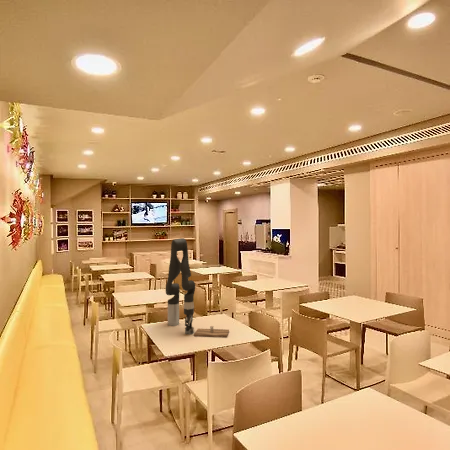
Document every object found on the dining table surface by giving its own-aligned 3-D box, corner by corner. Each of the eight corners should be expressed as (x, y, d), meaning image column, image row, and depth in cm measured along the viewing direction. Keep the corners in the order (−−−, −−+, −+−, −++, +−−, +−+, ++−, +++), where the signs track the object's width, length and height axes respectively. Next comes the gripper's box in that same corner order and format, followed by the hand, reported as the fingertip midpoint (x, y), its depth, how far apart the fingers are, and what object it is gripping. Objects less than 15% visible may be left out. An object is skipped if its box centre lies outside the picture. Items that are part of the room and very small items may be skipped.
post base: (197, 330, 275) (197, 323, 275) (229, 331, 272) (229, 324, 272) (194, 336, 261) (194, 328, 261) (226, 337, 258) (226, 329, 258)
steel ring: (186, 331, 272) (186, 326, 272) (194, 332, 271) (194, 326, 271) (184, 334, 266) (184, 328, 266) (192, 334, 265) (192, 329, 265)
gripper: (186, 305, 276) (186, 326, 276) (181, 309, 262) (181, 332, 262) (195, 305, 275) (196, 326, 275) (191, 309, 261) (191, 332, 260)
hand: (189, 329), depth 268 cm, fingers open, 8 cm apart
